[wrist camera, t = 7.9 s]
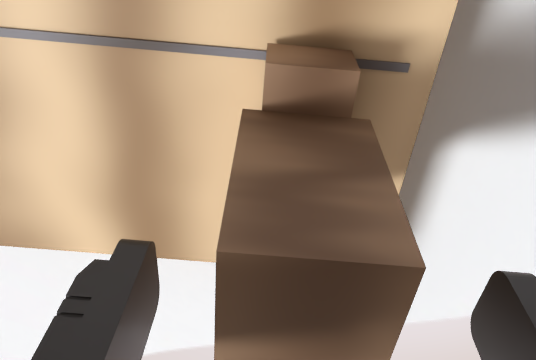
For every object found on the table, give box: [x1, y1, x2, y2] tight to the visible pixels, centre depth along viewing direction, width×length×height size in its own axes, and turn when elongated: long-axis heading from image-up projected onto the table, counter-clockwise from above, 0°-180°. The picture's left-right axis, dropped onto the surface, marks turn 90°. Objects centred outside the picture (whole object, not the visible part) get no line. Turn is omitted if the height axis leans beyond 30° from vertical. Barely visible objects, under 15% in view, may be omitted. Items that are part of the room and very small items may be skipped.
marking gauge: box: [214, 43, 426, 360], centre depth 15 cm, size 4×13×11 cm, turn 175°
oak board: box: [0, 0, 458, 262], centre depth 17 cm, size 20×14×3 cm
